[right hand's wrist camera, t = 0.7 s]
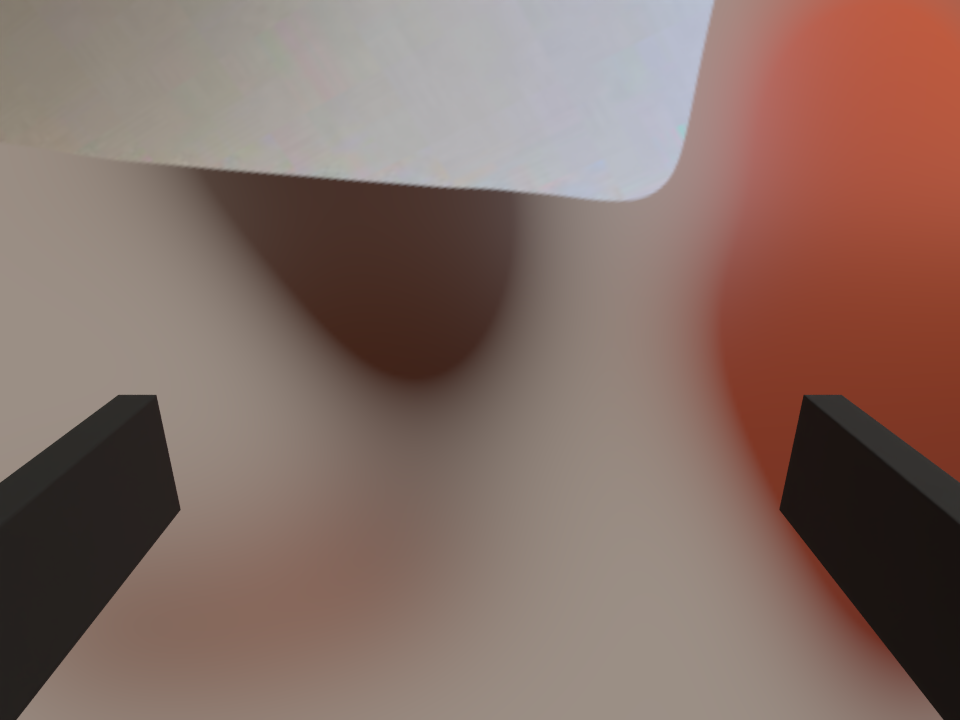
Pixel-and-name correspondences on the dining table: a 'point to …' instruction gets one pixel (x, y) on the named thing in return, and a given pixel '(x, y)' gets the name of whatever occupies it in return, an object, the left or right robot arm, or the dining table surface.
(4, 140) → the dining table surface
